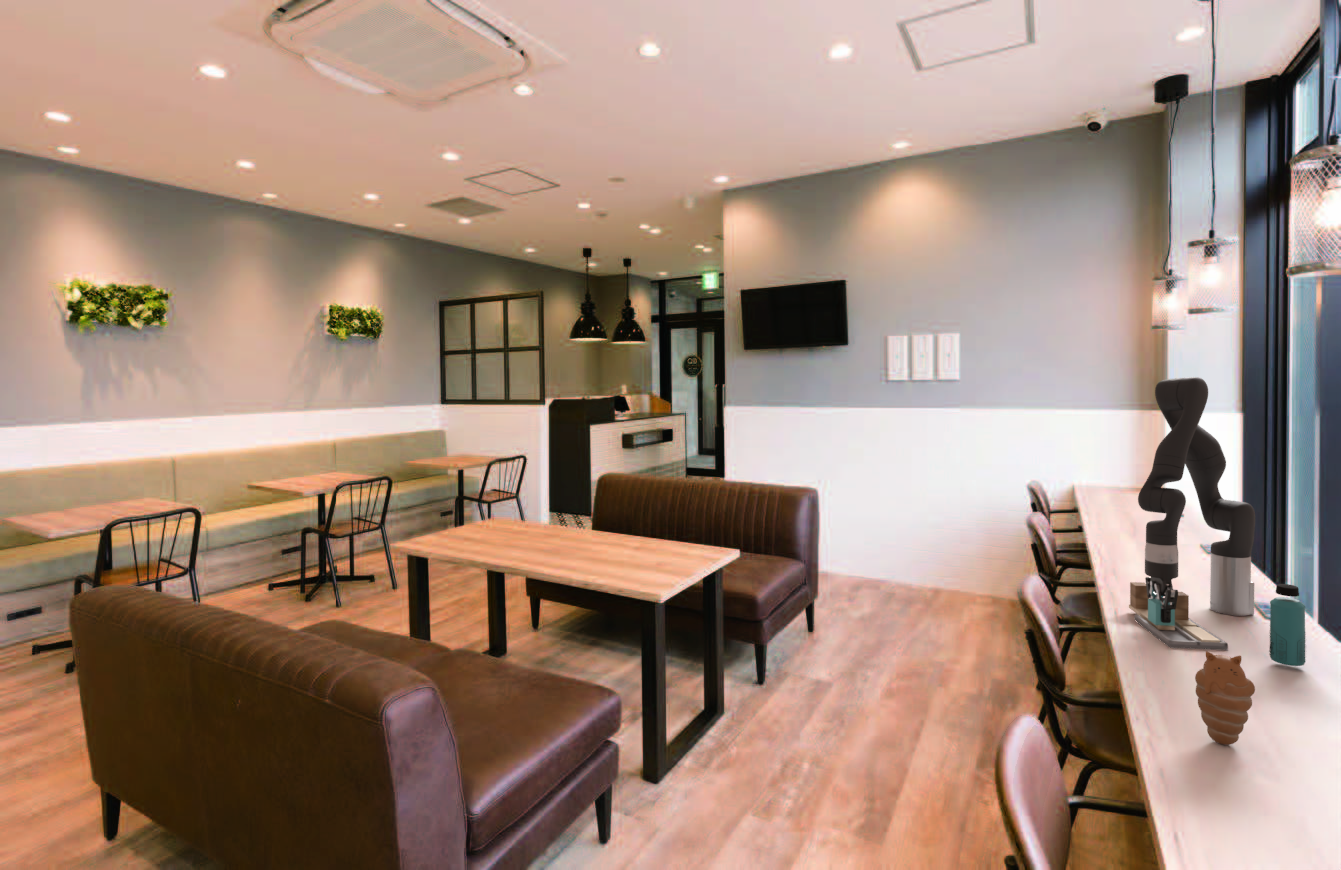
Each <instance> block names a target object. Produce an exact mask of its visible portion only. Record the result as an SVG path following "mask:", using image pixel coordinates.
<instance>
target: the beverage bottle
mask: <svg viewBox="0 0 1341 870" xmlns="http://www.w3.org/2000/svg"><path fill="white" fill-rule="evenodd" d="M1275 594H1278V595H1280V596H1278V597H1275V598H1273V599H1271V600H1270V601H1269V604H1270V606H1269V607H1270V609H1269V610H1270V616H1269V617H1270V618H1269V619H1268V621H1269V633H1268V634H1269V650H1268V652H1269V654H1268V655H1269V657H1270V659H1271V661H1273V662H1275V663H1277V664H1281V665H1285V666H1293V667H1301V666H1304V665H1305V664H1306V660H1307V659H1306V658H1307V657H1306V637H1307V636H1306V635H1307V632H1306V605H1305V604H1304V603H1303V602H1301V600H1299V599H1296V598H1295V597H1299V596H1300V590H1299V586H1296V585H1293V584H1287V583H1278V584H1276V588H1275ZM1292 597H1294V598H1292Z"/></svg>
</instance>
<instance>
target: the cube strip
mask: <svg viewBox="0 0 1341 870" xmlns="http://www.w3.org/2000/svg"><path fill="white" fill-rule="evenodd" d="M1129 589H1130V590H1129V591H1130V592H1129V593H1130V595H1129V597H1130V598H1129V599H1130V600H1129V603H1130V604H1128V608H1129V609H1130V610H1131V611H1133V612H1134V613H1135V614H1138V615H1139V616H1140V617H1142V618H1143V619H1145V620H1146V621H1147V622H1149V623H1150V624H1151V625H1153V626H1154V627H1155V628H1157V629H1158V630H1175V626H1166V625H1155V624H1153V623H1152V622H1151V621H1149V620H1148V599H1150V598H1148V597H1147V588H1146V582H1140V581H1139V582H1138V581H1137V582H1136V581H1135V582H1132V581H1130V583H1129Z"/></svg>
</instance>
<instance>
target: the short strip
mask: <svg viewBox="0 0 1341 870" xmlns="http://www.w3.org/2000/svg"><path fill="white" fill-rule="evenodd" d="M1189 600H1190V599H1189V595H1188V594H1186V593H1185V592H1183V591H1178V598H1177V604H1176V609H1175V625H1176V626H1178V627H1179V628H1183V626H1188V627H1197V625H1196V624H1194V623H1193V622H1191V621H1190V620H1188V618H1189V610H1190V608H1189V607H1190V606H1189Z"/></svg>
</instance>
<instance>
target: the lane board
mask: <svg viewBox="0 0 1341 870" xmlns="http://www.w3.org/2000/svg"><path fill="white" fill-rule="evenodd" d="M1135 620H1136V621H1137V622H1138V623H1137V622H1136V621H1135ZM1188 620H1190V621H1191V622H1193V623H1194V624H1196V625H1197V627H1188V626H1183V628H1179V627H1178V626H1176V625H1175V630H1158V629H1157V628H1155V627H1154V626H1153V625H1151V624H1150V623H1149V622H1147V621H1146V620H1145V619H1143V618H1142V617H1141V616H1139V615H1138V614H1137V613H1135V614H1134V621H1135V622H1136V623H1137V624H1139V623H1140V624H1141V625H1142V626H1143V627H1142V626H1141V625H1140V624H1139V625H1140V626H1141V627H1142V628H1143V629H1145V628H1146V629H1147V630H1146V629H1145V630H1146V631H1147V632H1149V631H1150V632H1151V633H1152V634H1151V633H1150V632H1149V633H1150V634H1151V635H1153V636H1154V635H1155V636H1156V637H1155V636H1154V637H1155V638H1156V639H1158V640H1159V639H1160V640H1161V641H1160V640H1159V641H1160V642H1162V643H1163V644H1164V643H1165V644H1164V645H1165V646H1167V647H1168V648H1169V647H1170V648H1171V649H1188V648H1189V649H1191V650H1192V649H1194V650H1195V649H1196V650H1216V651H1228V649H1229V644H1228V642H1227V641H1225V640H1223V639H1222V638H1220V637H1219V636H1217V635H1216V634H1214V633H1213V632H1211V631H1210V630H1208V629H1207V628H1205V627H1203V626H1201V625H1200V624H1199V623H1197V622H1196V621H1194V620H1193V619H1191V618H1190V617H1188Z"/></svg>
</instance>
